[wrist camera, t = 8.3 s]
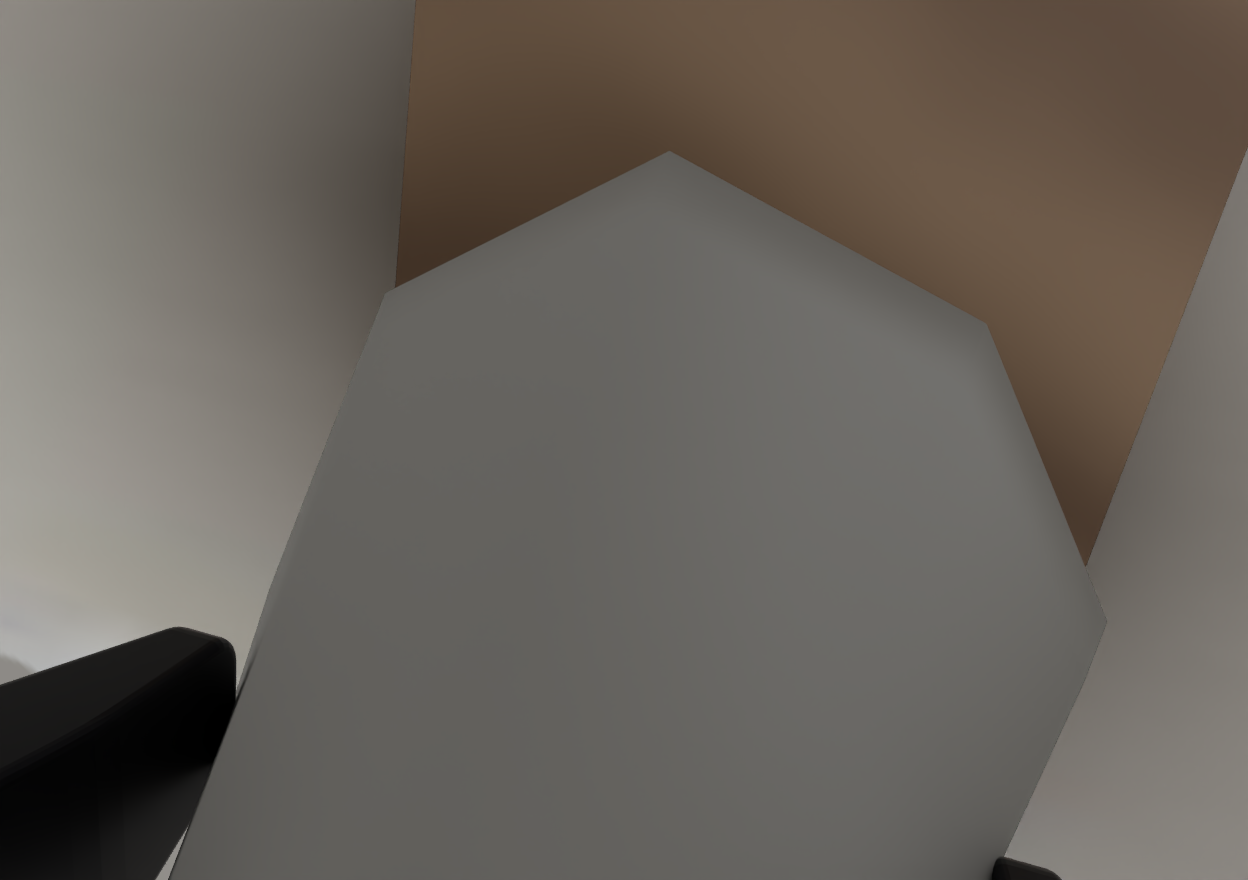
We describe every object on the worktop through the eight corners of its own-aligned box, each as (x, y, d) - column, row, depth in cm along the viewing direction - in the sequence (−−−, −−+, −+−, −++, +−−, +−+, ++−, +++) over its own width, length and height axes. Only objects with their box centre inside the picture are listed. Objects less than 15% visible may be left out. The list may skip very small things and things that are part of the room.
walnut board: (951, 859, 21) (954, 905, 20) (387, 701, 23) (363, 735, 22) (1334, -164, 14) (1373, -179, 13) (468, -287, 16) (437, -308, 15)
